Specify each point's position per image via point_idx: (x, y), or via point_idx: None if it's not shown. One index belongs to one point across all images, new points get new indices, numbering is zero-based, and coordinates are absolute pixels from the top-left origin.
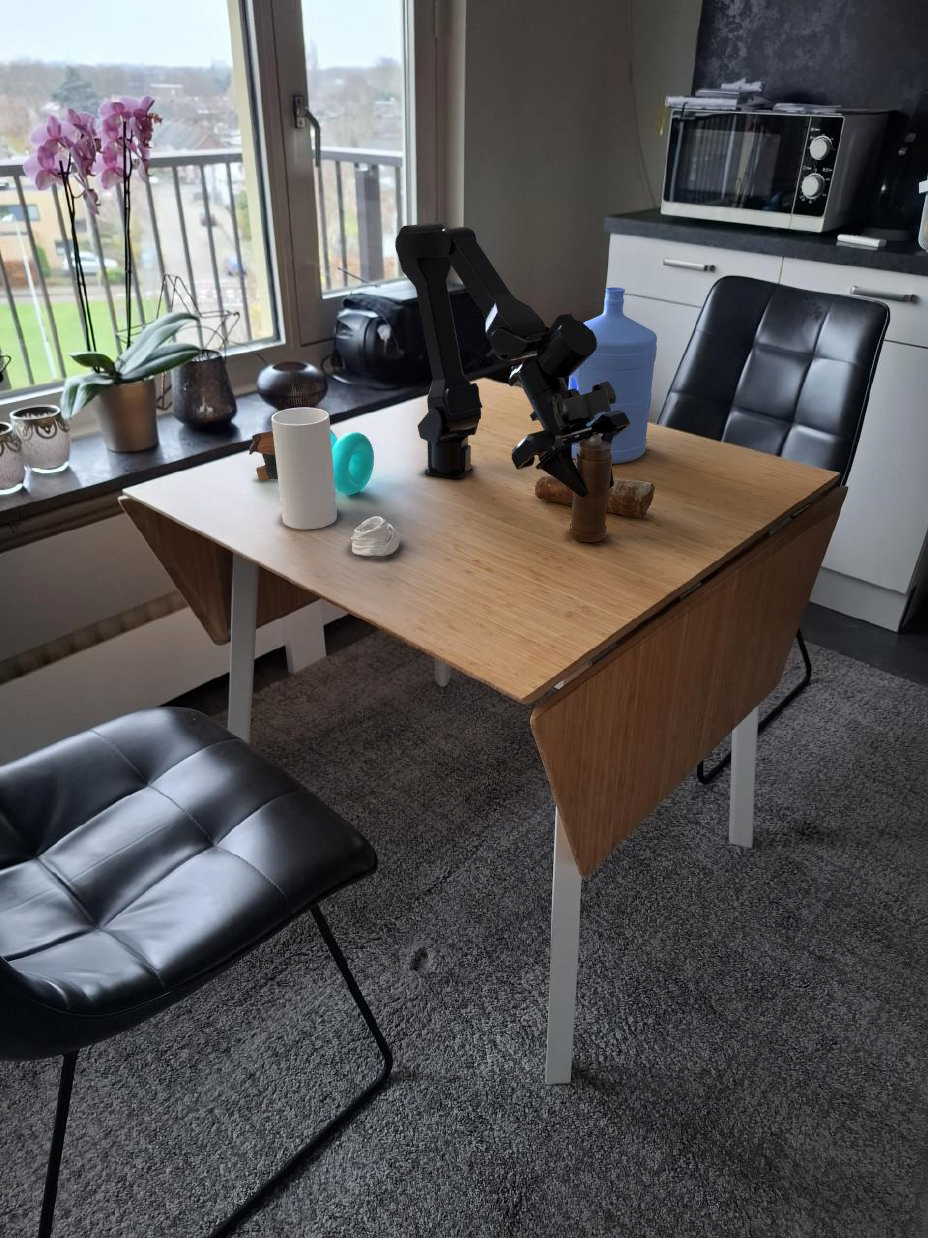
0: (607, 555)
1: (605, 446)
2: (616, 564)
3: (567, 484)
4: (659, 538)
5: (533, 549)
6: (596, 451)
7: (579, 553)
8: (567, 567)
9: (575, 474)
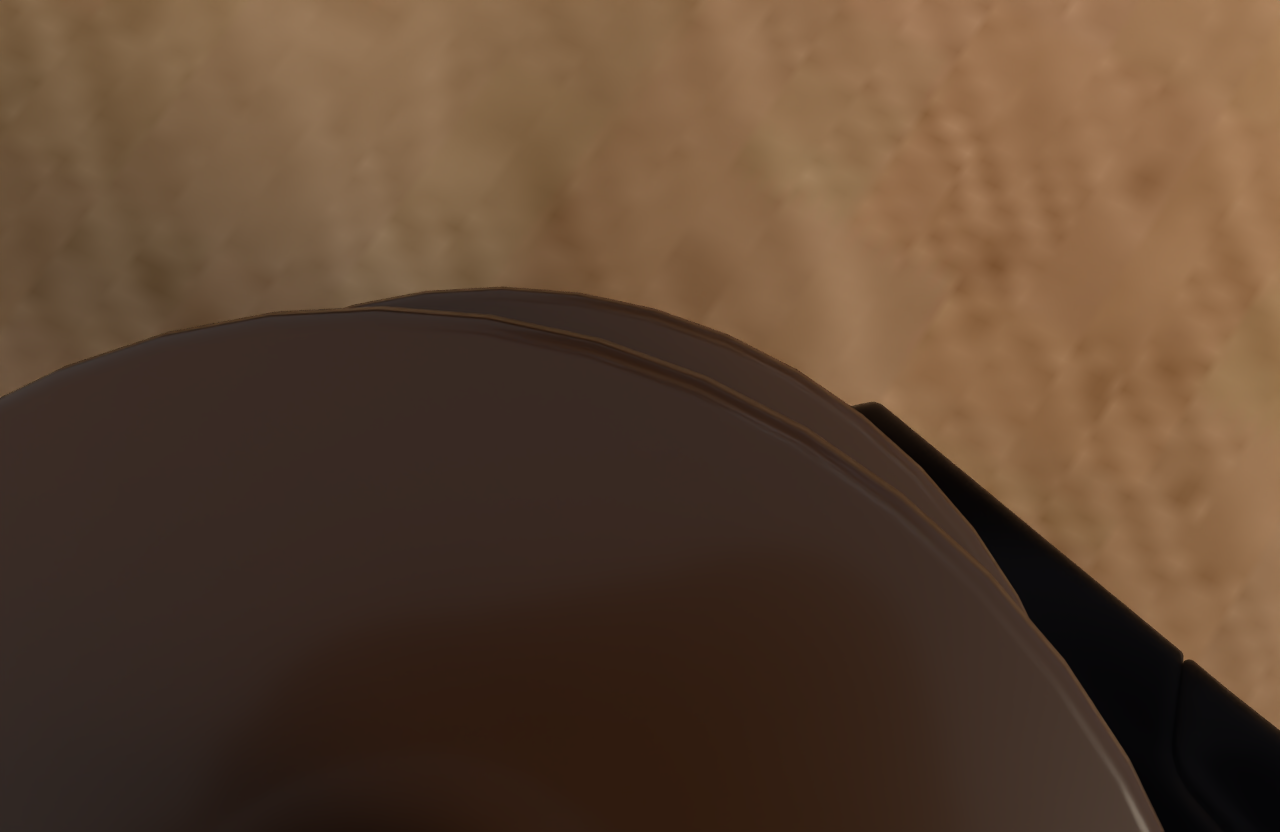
0: (675, 193)
1: (18, 692)
2: (703, 28)
3: None
4: (109, 267)
5: (1178, 564)
6: (772, 420)
7: (863, 326)
8: (1092, 154)
9: (1110, 639)
